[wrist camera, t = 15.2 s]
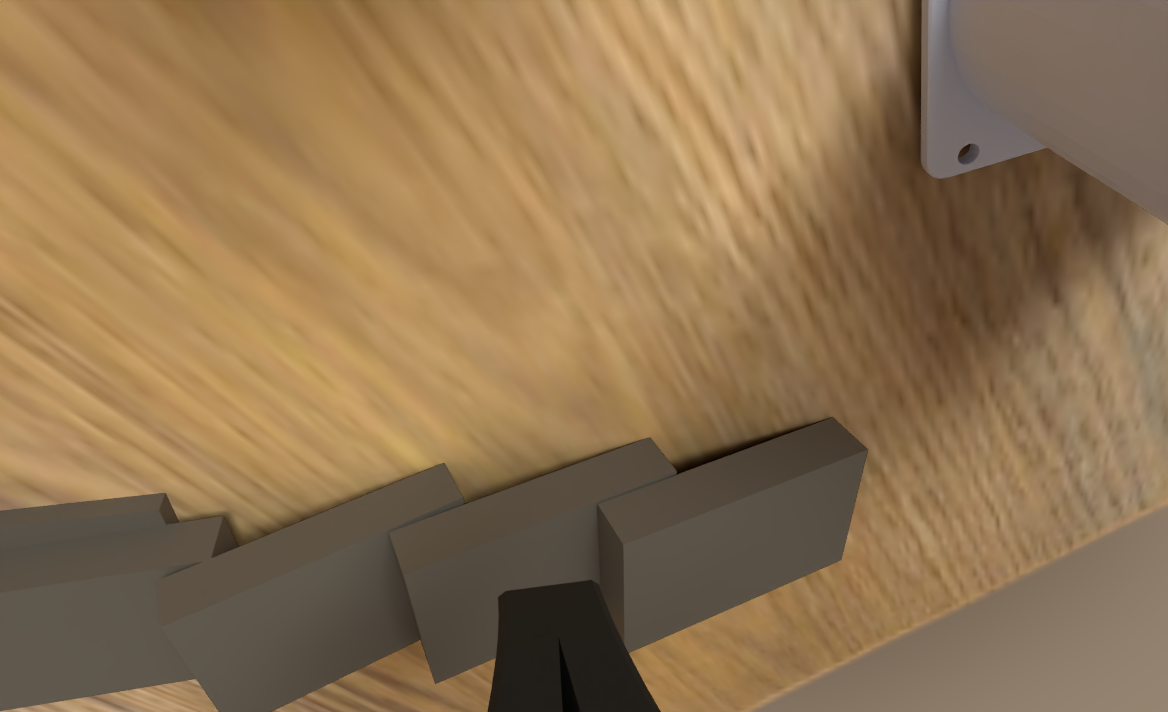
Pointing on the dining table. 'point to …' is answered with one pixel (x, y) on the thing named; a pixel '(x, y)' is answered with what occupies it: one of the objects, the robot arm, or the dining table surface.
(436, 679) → the domino
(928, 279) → the dining table surface
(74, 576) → the domino
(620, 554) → the domino
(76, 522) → the end domino
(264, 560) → the domino
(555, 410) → the dining table surface
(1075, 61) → the robot arm
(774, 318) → the dining table surface
